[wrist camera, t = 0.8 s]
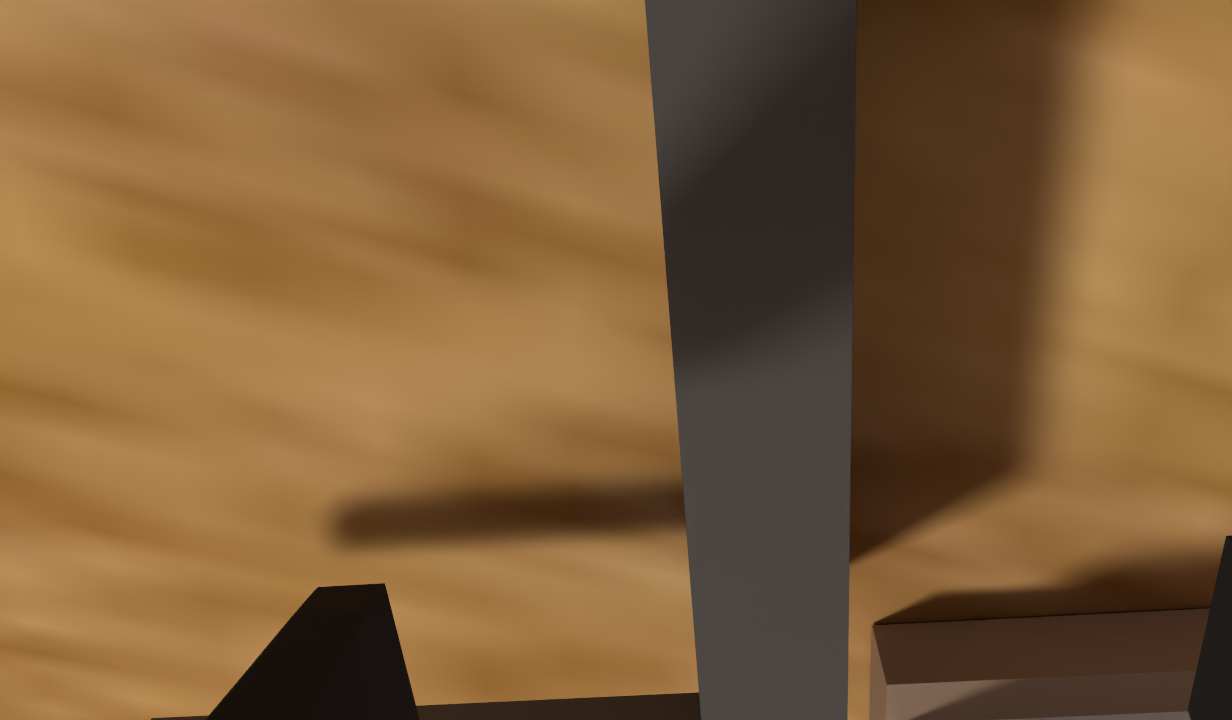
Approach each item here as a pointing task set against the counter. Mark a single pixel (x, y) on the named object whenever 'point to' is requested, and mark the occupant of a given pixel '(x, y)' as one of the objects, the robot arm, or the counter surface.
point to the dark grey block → (752, 354)
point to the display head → (1038, 667)
